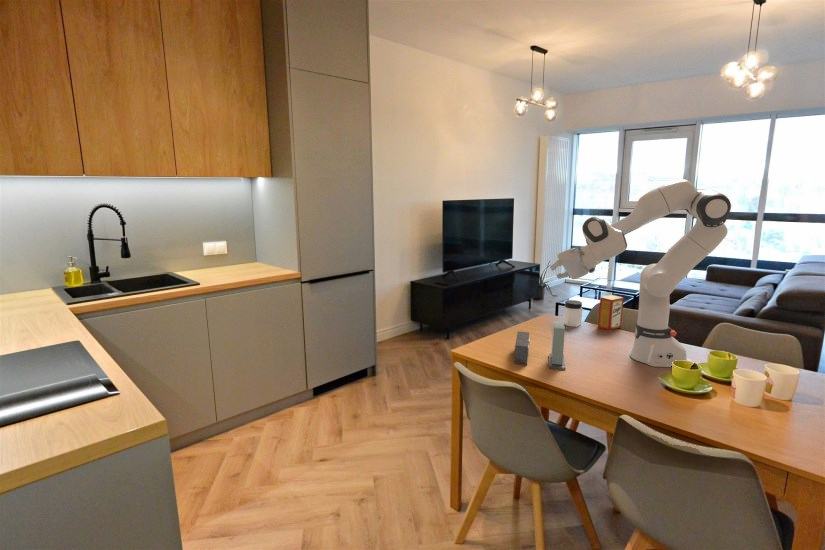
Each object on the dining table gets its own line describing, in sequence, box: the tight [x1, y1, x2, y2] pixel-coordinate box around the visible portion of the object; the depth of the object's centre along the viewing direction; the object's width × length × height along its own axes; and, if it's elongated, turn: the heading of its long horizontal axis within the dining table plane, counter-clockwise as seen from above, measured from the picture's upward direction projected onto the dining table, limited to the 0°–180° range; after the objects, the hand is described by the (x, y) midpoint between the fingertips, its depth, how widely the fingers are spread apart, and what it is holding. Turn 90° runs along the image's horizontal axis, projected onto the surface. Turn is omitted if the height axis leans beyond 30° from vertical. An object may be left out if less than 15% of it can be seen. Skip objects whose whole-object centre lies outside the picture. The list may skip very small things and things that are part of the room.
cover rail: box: [548, 353, 566, 371], centre depth 180 cm, size 6×14×1 cm, turn 164°
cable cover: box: [551, 320, 566, 365], centre depth 178 cm, size 4×10×15 cm, turn 164°
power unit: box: [514, 331, 531, 366], centre depth 186 cm, size 5×18×8 cm, turn 164°
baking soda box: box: [597, 294, 624, 331], centre depth 222 cm, size 10×6×16 cm
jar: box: [562, 299, 583, 328], centre depth 228 cm, size 9×8×12 cm
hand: (554, 273), depth 183 cm, fingers open, 8 cm apart
